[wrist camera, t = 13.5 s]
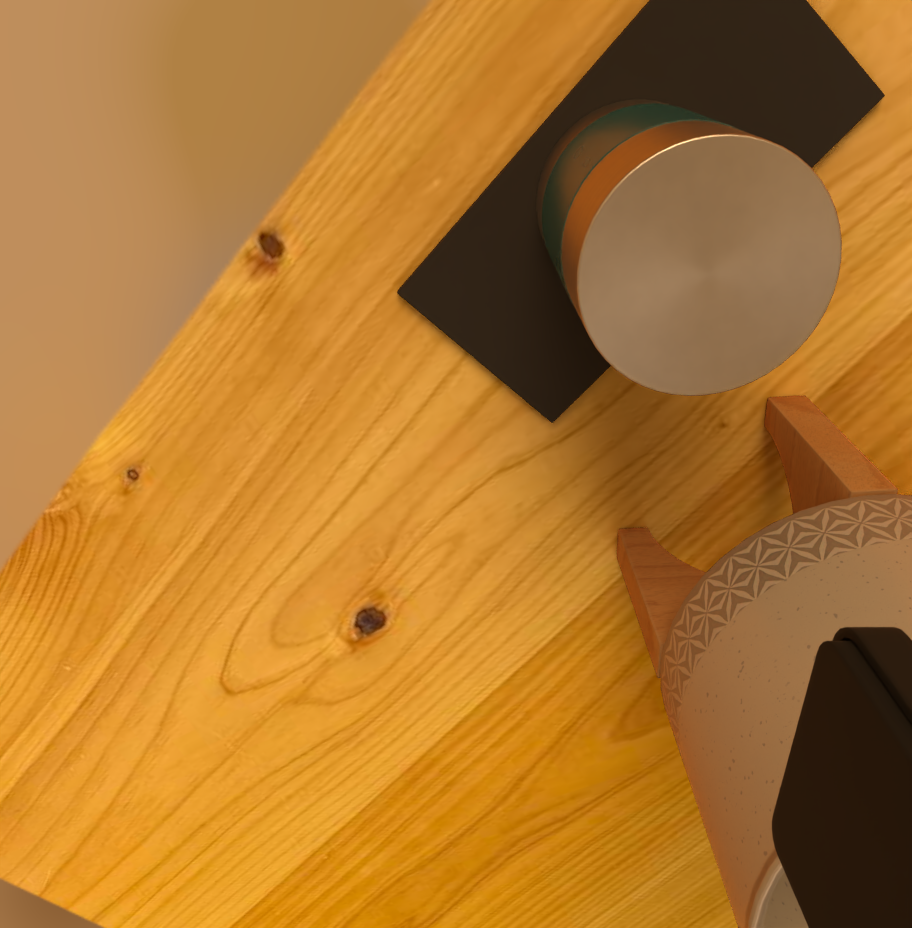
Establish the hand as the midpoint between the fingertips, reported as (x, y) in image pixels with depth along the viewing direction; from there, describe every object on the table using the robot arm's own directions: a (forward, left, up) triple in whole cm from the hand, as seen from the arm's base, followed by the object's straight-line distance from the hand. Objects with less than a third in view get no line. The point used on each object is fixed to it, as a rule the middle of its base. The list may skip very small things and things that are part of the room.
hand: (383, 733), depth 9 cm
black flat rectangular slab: (-2, +7, -25) cm, 26 cm away
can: (-1, +7, -24) cm, 25 cm away
